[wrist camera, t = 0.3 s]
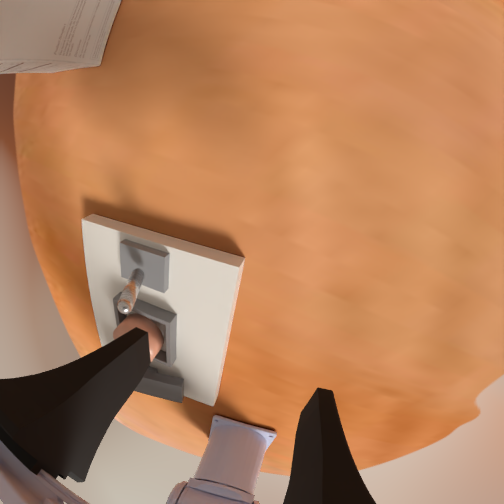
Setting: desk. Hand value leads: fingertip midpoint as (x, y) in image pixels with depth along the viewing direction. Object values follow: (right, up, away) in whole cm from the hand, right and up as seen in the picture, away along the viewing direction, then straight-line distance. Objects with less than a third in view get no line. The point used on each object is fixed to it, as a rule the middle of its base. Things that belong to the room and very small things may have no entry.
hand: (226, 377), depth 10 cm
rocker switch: (-10, -8, +13) cm, 18 cm away
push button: (-8, -2, +11) cm, 14 cm away
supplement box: (-13, +24, +4) cm, 28 cm away
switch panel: (-8, -1, +13) cm, 16 cm away
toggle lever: (-7, +4, +8) cm, 12 cm away
